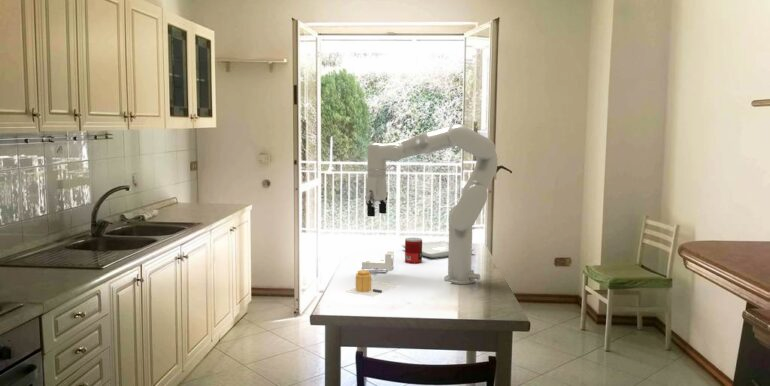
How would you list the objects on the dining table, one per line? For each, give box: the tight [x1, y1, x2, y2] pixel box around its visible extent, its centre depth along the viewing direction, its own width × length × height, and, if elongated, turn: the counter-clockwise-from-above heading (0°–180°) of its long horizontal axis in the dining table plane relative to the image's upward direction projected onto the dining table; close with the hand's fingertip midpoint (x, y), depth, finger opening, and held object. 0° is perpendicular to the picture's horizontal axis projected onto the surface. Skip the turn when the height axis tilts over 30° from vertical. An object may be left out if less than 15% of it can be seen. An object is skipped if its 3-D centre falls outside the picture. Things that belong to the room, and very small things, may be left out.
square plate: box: [401, 240, 475, 259], centre depth 312 cm, size 27×27×4 cm
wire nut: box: [355, 269, 372, 292], centre depth 232 cm, size 6×6×7 cm
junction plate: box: [345, 280, 399, 297], centre depth 235 cm, size 12×20×6 cm, turn 150°
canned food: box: [404, 237, 423, 265], centre depth 289 cm, size 8×8×11 cm
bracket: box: [361, 250, 395, 272], centre depth 275 cm, size 13×7×8 cm, turn 80°
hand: (377, 214), depth 253 cm, fingers open, 9 cm apart
